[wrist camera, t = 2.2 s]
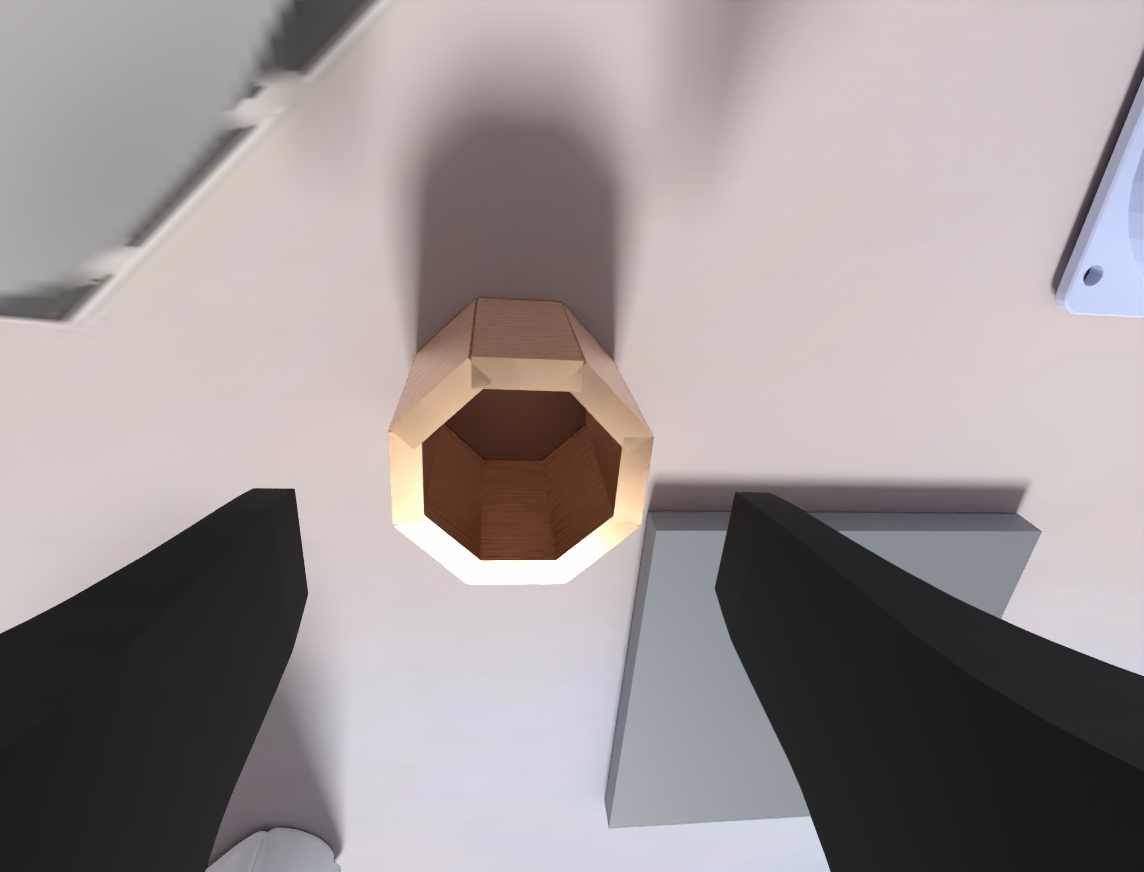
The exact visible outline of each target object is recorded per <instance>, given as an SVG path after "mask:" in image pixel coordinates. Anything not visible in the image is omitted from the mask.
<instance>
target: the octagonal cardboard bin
mask: <svg viewBox="0 0 1144 872" xmlns="http://www.w3.org/2000/svg"><path fill="white" fill-rule="evenodd" d="M482 389H503V390H535V391H566V392H570V393H571V394H572V395H573V396H574V397H575V398H576V399H577V400H578V401H579V402H580V403H581V404H582V405H583V406H584V407H585V408H586V409H587V413H586V424H585V426H584V427H582V428H581V429H580V430H579V431H577V432H576V433H575V434H574V435H573V436H571V437H570V438H569V439H568V440H567V441H565V442H564V443H563V444H562V445H561V446H559V447H558V448H557V449H556V450H554V451H553V452H552V453H551V454H550V455H548V456H547V457H546V458H545V459H544V460H542V461H521V460H484V459H482V458H481V457H480V456H479V455H478V454H477V453H476V452H475V451H474V450H473V449H471V448H470V447H469V446H468V445H467V444H466V443H465V442H464V441H463V440H462V439H460V438H459V437H458V436H457V435H456V434H455V433H454V432H453V431H452V430H451V429H449V428H448V427H447V426H446V425H445V424H444V423H445V422H446V421H447V420H448V419H449V418H451V417H452V416H453V415H454V414H455V413H456V412H457V411H459V410H460V409H461V408H462V407H463V406H464V405H465V404H466V403H468V402H469V401H470V400H471V399H472V398H473V397H474V396H476V395H477V394H478V393H479V392H480V391H481V390H482ZM653 439H654V437H653V434H652V432H651V430H650V428H649V426H648V425H647V423H646V421H645V419H644V417H643V415H642V413H641V411H640V409H639V408H638V406H637V404H636V402H635V400H634V398H633V396H632V394H631V392H630V390H629V389H628V387H627V385H626V383H625V381H624V379H623V377H622V375H621V373H620V372H619V370H618V368H617V366H616V364H615V362H614V360H613V359H612V358H611V357H610V356H609V355H608V353H607V352H606V351H605V350H604V349H603V348H602V347H601V346H600V344H599V343H598V342H597V341H596V340H595V339H594V338H593V336H592V335H591V334H590V333H589V332H588V331H587V330H586V329H585V327H584V326H583V325H582V324H581V323H580V322H579V321H578V320H577V318H576V317H575V316H574V315H573V314H572V313H571V312H570V310H569V309H568V308H567V307H566V306H565V305H564V304H563V303H562V304H561V302H552V301H532V300H512V299H493V298H478V301H477V300H476V299H475V300H473V301H472V302H471V303H470V304H469V305H468V306H467V307H466V308H465V309H464V310H463V311H462V312H461V313H459V314H458V315H457V316H456V317H455V318H454V319H453V320H452V321H451V322H450V323H449V324H448V325H446V326H445V327H444V328H443V329H442V330H441V331H440V332H439V333H438V334H437V335H436V336H435V337H433V338H432V339H431V340H430V341H429V342H428V343H427V344H426V345H425V346H424V347H423V348H422V349H420V350H419V351H418V352H417V354H416V357H415V359H414V362H413V365H412V368H411V370H410V373H409V376H408V379H407V381H406V384H405V387H404V389H403V392H402V395H401V398H400V400H399V403H398V406H397V408H396V411H395V414H394V417H393V419H392V422H391V425H390V428H389V430H388V442H389V461H390V479H391V498H392V517H393V524H395V526H394V527H396V528H397V529H398V530H399V531H401V532H402V533H403V534H405V535H406V536H407V537H408V538H410V539H411V540H412V541H413V542H415V543H416V544H417V545H418V546H420V547H421V548H422V549H424V550H425V551H426V552H427V553H429V554H430V555H431V556H432V557H434V558H435V559H436V560H438V561H439V562H440V563H441V564H443V565H444V566H445V567H446V568H448V569H449V570H450V571H452V572H453V573H454V574H455V575H457V576H458V577H459V578H460V579H462V580H463V581H464V582H465V583H468V582H469V581H470V584H560V583H564V580H565V581H566V582H568V581H570V580H571V579H572V578H574V577H575V576H576V575H577V574H579V573H580V572H581V571H583V570H584V569H585V568H587V567H588V566H589V565H591V564H592V563H593V562H595V561H596V560H597V559H598V558H600V557H601V556H602V555H604V554H605V553H606V552H608V551H609V550H610V549H612V548H613V547H614V546H616V545H617V544H618V543H619V542H621V541H622V540H623V539H625V538H626V537H627V536H629V535H630V534H631V533H633V532H634V531H635V530H636V529H638V528H639V525H641V522H642V515H643V508H644V501H645V494H646V487H647V480H648V474H649V467H650V460H651V453H652V446H653Z"/></svg>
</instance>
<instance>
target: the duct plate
mask: <svg viewBox="0 0 1144 872" xmlns="http://www.w3.org/2000/svg"><path fill="white" fill-rule="evenodd" d="M806 513H808V514H810V515H812V516H813V517H815V518H817V519H818V520H820V521H821V522H823V523H825V524H826V525H828V526H830V527H831V528H833V529H835V530H836V531H838V532H840V533H841V534H843V535H845V536H846V537H848V538H850V539H851V540H853V541H855V542H856V543H858V544H860V545H861V546H863V547H865V548H866V549H868V550H870V551H871V552H873V553H875V554H877V555H878V556H880V557H882V558H883V559H885V560H887V561H889V562H890V563H892V564H894V565H896V566H897V567H899V568H901V569H903V570H905V571H906V572H908V573H910V574H912V575H914V576H916V577H918V578H919V579H921V580H923V581H925V582H927V583H929V584H930V585H932V586H934V587H936V588H938V589H940V590H942V591H944V592H945V593H947V594H949V595H951V596H953V597H955V598H957V599H959V600H961V601H963V602H965V603H967V604H970V605H972V606H974V607H976V608H978V609H980V610H982V611H985V612H987V613H989V614H991V615H993V616H995V617H998V618H1000V619H1001V617H1002V615H1003V613H1004V611H1005V609H1006V606H1007V604H1008V602H1009V600H1010V598H1011V596H1012V594H1013V592H1014V589H1015V587H1016V585H1017V583H1018V581H1019V579H1020V577H1021V575H1022V573H1023V570H1024V568H1025V566H1026V564H1027V562H1028V560H1029V558H1030V556H1031V553H1032V551H1033V549H1034V547H1035V545H1036V543H1037V541H1038V539H1039V536H1040V534H1041V532H1042V531H1040V530H1039V529H1038V528H1036V527H1035V526H1034V525H1032V524H1031V523H1029V522H1028V521H1027V520H1025V519H1024V518H1022V517H1021V516H1020V515H1018V514H998V513H841V512H806ZM730 514H731V512H685V511H648V518H647V525H646V531H645V538H644V545H643V551H642V558H641V565H640V571H639V578H638V585H637V591H636V598H635V604H634V611H633V618H632V624H631V631H630V638H629V644H628V651H627V658H626V664H625V671H624V678H623V684H622V691H621V698H620V704H619V711H618V717H617V724H616V731H615V737H614V744H613V751H612V757H611V764H610V771H609V777H608V784H607V791H606V797H605V807H606V813H607V819H608V826H609V829H610V828H626V827H642V826H659V825H675V824H691V823H707V822H723V821H740V820H756V819H772V818H788V817H805V816H811V815H810V813H809V810H808V807H807V804H806V802H805V799H804V796H803V793H802V791H801V788H800V786H799V784H798V781H797V779H796V777H795V774H794V772H793V770H792V768H791V765H790V763H789V761H788V758H787V756H786V754H785V752H784V750H783V748H782V746H781V744H780V742H779V740H778V738H777V736H776V734H775V732H774V730H773V727H772V725H771V723H770V721H769V719H768V717H767V715H766V713H765V711H764V709H763V707H762V705H761V703H760V701H759V699H758V696H757V694H756V692H755V690H754V688H753V686H752V684H751V682H750V680H749V678H748V676H747V674H746V671H745V669H744V667H743V665H742V663H741V661H740V659H739V657H738V654H737V652H736V650H735V648H734V646H733V643H732V641H731V639H730V636H729V633H728V630H727V627H726V624H725V621H724V618H723V615H722V611H721V608H720V605H719V601H718V598H717V595H716V591H715V584H716V579H717V575H718V570H719V566H720V561H721V556H722V552H723V547H724V542H725V538H726V533H727V528H728V524H729V519H730Z"/></svg>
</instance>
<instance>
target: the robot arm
mask: <svg viewBox="0 0 1144 872" xmlns="http://www.w3.org/2000/svg"><path fill="white" fill-rule="evenodd" d="M1089 268H1090V272H1089V274H1088V276H1087V277H1086V279H1084V280H1083V278H1084V274H1085V273H1086V271H1087V270H1088V269H1089ZM1055 300H1056V305H1057V306H1058V307H1059V309H1061V310H1064V311H1067V312H1071V313H1074V314H1086V315H1105V316H1123V317H1142V318H1144V77H1143V80H1142V82H1141V85H1140V87H1139V89H1138V92H1137V94H1136V97H1135V99H1134V102H1133V104H1132V107H1131V109H1130V112H1129V114H1128V117H1127V119H1126V122H1125V124H1124V127H1123V129H1122V131H1121V134H1120V136H1119V139H1118V141H1117V144H1116V146H1115V149H1114V151H1113V154H1112V156H1111V159H1110V161H1109V164H1108V166H1107V169H1106V171H1105V173H1104V176H1103V178H1102V181H1101V183H1100V186H1099V188H1098V191H1097V193H1096V196H1095V198H1094V201H1093V203H1092V206H1091V208H1090V211H1089V213H1088V215H1087V218H1086V220H1085V223H1084V225H1083V228H1082V230H1081V233H1080V235H1079V238H1078V240H1077V243H1076V245H1075V248H1074V250H1073V253H1072V255H1071V257H1070V260H1069V262H1068V265H1067V267H1066V270H1065V272H1064V275H1063V277H1062V280H1061V282H1060V285H1059V287H1058V290H1057V293H1056V297H1055ZM715 591H716V595H717V598H718V601H719V605H720V608H721V611H722V615H723V618H724V621H725V624H726V627H727V630H728V633H729V636H730V639H731V641H732V643H733V646H734V648H735V650H736V652H737V654H738V657H739V659H740V661H741V663H742V665H743V667H744V669H745V671H746V674H747V676H748V678H749V680H750V682H751V684H752V686H753V688H754V690H755V692H756V694H757V696H758V699H759V701H760V703H761V705H762V707H763V709H764V711H765V713H766V715H767V717H768V719H769V721H770V723H771V725H772V727H773V730H774V732H775V734H776V736H777V738H778V740H779V742H780V744H781V746H782V748H783V750H784V752H785V754H786V756H787V758H788V761H789V763H790V765H791V768H792V770H793V772H794V774H795V777H796V779H797V781H798V784H799V786H800V788H801V791H802V793H803V796H804V799H805V802H806V804H807V807H808V810H809V813H810V815H811V818H812V821H813V823H814V826H815V829H816V832H817V834H818V837H819V840H820V843H821V845H822V848H823V851H824V853H825V856H826V859H827V862H828V865H829V868H830V871H831V872H1144V676H1142V675H1139V674H1136V673H1133V672H1130V671H1128V670H1125V669H1122V668H1119V667H1116V666H1114V665H1111V664H1108V663H1106V662H1103V661H1101V660H1098V659H1096V658H1093V657H1090V656H1088V655H1085V654H1083V653H1080V652H1078V651H1075V650H1073V649H1070V648H1068V647H1065V646H1062V645H1060V644H1057V643H1055V642H1052V641H1050V640H1047V639H1045V638H1043V637H1040V636H1038V635H1036V634H1033V633H1031V632H1029V631H1026V630H1024V629H1022V628H1019V627H1017V626H1015V625H1013V624H1011V623H1008V622H1006V621H1004V620H1002V619H1000V618H998V617H995V616H993V615H991V614H989V613H987V612H985V611H982V610H980V609H978V608H976V607H974V606H972V605H970V604H967V603H965V602H963V601H961V600H959V599H957V598H955V597H953V596H951V595H949V594H947V593H945V592H944V591H942V590H940V589H938V588H936V587H934V586H932V585H930V584H929V583H927V582H925V581H923V580H921V579H919V578H918V577H916V576H914V575H912V574H910V573H908V572H906V571H905V570H903V569H901V568H899V567H897V566H896V565H894V564H892V563H890V562H889V561H887V560H885V559H883V558H882V557H880V556H878V555H877V554H875V553H873V552H871V551H870V550H868V549H866V548H865V547H863V546H861V545H860V544H858V543H856V542H855V541H853V540H851V539H850V538H848V537H846V536H845V535H843V534H841V533H840V532H838V531H836V530H835V529H833V528H831V527H830V526H828V525H826V524H825V523H823V522H821V521H820V520H818V519H817V518H815V517H813V516H812V515H810V514H808V513H806V512H805V511H803V510H801V509H800V508H798V507H796V506H794V505H793V504H791V503H789V502H787V501H785V500H783V499H781V498H780V497H777V496H775V495H773V494H771V493H750V492H735V496H734V500H733V505H732V510H731V514H730V519H729V524H728V528H727V533H726V538H725V542H724V547H723V552H722V556H721V561H720V566H719V570H718V575H717V579H716V584H715ZM307 596H308V589H307V581H306V573H305V566H304V558H303V550H302V542H301V535H300V527H299V519H298V511H297V503H296V496H295V489H264V488H253V489H251V490H249V491H248V492H246V493H244V494H242V495H240V496H238V497H237V498H235V499H233V500H232V501H230V502H228V503H227V504H225V505H224V506H222V507H220V508H219V509H217V510H216V511H214V512H213V513H211V514H209V515H208V516H206V517H205V518H203V519H202V520H200V521H198V522H197V523H195V524H194V525H192V526H191V527H189V528H187V529H186V530H184V531H183V532H181V533H179V534H178V535H176V536H175V537H173V538H171V539H170V540H168V541H167V542H165V543H163V544H162V545H160V546H159V547H157V548H155V549H154V550H152V551H151V552H149V553H148V554H146V555H144V556H143V557H141V558H139V559H137V560H136V561H134V562H132V563H131V564H129V565H127V566H125V567H124V568H122V569H120V570H118V571H117V572H115V573H113V574H111V575H110V576H108V577H106V578H104V579H103V580H101V581H99V582H98V583H96V584H94V585H92V586H91V587H89V588H87V589H85V590H84V591H82V592H80V593H78V594H77V595H75V596H73V597H71V598H70V599H68V600H66V601H64V602H62V603H60V604H58V605H57V606H55V607H53V608H51V609H49V610H47V611H45V612H43V613H41V614H39V615H37V616H35V617H33V618H31V619H30V620H28V621H26V622H24V623H22V624H19V625H17V626H15V627H13V628H11V629H9V630H7V631H5V632H3V633H1V634H0V872H205V870H206V867H207V864H208V861H209V858H210V855H211V852H212V848H213V845H214V842H215V839H216V836H217V833H218V830H219V827H220V824H221V821H222V818H223V816H224V813H225V811H226V808H227V805H228V803H229V800H230V797H231V795H232V792H233V790H234V787H235V785H236V783H237V780H238V778H239V776H240V773H241V771H242V769H243V766H244V764H245V762H246V759H247V757H248V755H249V752H250V750H251V748H252V745H253V743H254V741H255V738H256V736H257V734H258V731H259V729H260V727H261V724H262V722H263V720H264V718H265V715H266V713H267V711H268V708H269V706H270V704H271V701H272V699H273V697H274V694H275V692H276V689H277V687H278V685H279V682H280V680H281V678H282V675H283V673H284V670H285V668H286V666H287V663H288V661H289V658H290V656H291V653H292V651H293V647H294V644H295V641H296V637H297V634H298V630H299V627H300V623H301V619H302V615H303V612H304V608H305V604H306V600H307Z"/></svg>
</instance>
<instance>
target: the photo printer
mask: <svg viewBox="0 0 1144 872" xmlns="http://www.w3.org/2000/svg"><path fill="white" fill-rule="evenodd" d="M205 872H341V866H340V865H338V864H337V863H336V862H334V854H333V851H332V850H331V848H330V847H329V846H328V845H327V844H326V843H325V842H324V841H323V840H321V839H320V838H318V837H316V836H314V835H312V834H309V833H307V832H304V831H301V830H296V829H291V828H279V827H277V828H273V829H271V830H270V831H268V832H265V831H259V832H256V833H255V834H253V835H251V836H249V837H248V838H246V839H244V840H243V841H241V842H240V843H239V844H237V845H236V846H235V847H233V848H232V849H231V850H229V851H228V852H227V853H226V854H225V855H223V856H222V857H221V858H219V859H218V860H217V861H216V862H214V863H213V864H212V865H211V866H210V867H208V868H207V869H206V870H205Z"/></svg>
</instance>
